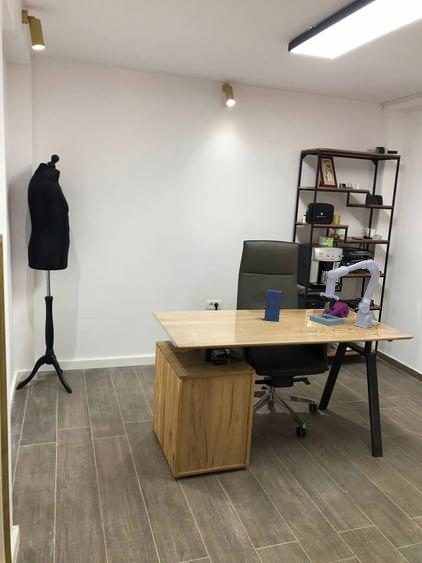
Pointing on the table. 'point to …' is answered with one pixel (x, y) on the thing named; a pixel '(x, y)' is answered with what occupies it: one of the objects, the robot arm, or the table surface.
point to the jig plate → (326, 319)
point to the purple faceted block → (339, 310)
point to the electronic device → (273, 305)
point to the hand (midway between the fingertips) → (328, 308)
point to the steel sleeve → (327, 307)
